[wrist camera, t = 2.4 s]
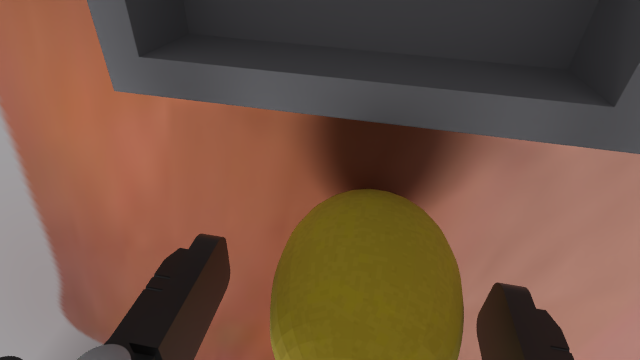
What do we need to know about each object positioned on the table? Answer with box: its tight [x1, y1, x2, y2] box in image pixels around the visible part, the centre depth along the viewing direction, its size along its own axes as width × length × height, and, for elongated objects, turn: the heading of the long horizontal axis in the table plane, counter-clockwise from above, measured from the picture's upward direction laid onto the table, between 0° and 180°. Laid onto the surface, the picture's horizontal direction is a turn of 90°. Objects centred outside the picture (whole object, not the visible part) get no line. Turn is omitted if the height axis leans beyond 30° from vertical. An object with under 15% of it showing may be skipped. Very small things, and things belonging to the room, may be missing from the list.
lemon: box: [270, 189, 464, 360], centre depth 11 cm, size 6×6×8 cm
